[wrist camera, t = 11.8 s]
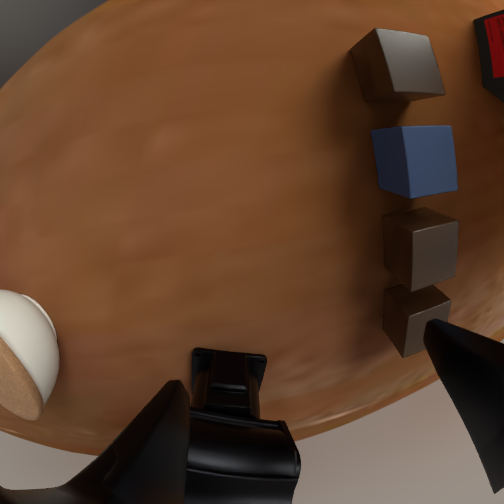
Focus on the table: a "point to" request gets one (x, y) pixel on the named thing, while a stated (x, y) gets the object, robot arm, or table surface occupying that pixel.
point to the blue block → (415, 160)
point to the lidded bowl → (26, 355)
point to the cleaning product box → (492, 51)
